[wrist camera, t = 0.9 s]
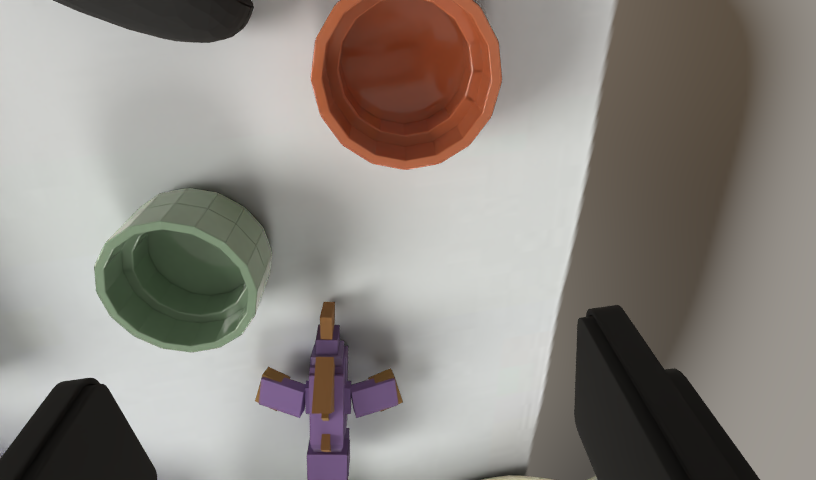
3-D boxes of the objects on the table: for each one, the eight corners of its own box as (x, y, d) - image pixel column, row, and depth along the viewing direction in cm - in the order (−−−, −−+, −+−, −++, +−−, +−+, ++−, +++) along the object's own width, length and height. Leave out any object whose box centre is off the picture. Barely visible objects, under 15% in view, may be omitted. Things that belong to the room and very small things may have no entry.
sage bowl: (110, 198, 24) (64, 238, 21) (248, 172, 24) (224, 208, 21) (167, 311, 28) (136, 362, 24) (290, 289, 27) (276, 338, 24)
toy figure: (390, 425, 35) (406, 500, 31) (265, 443, 33) (263, 526, 29) (399, 287, 28) (421, 358, 24) (242, 302, 26) (236, 381, 22)
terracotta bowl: (304, -11, 20) (288, -4, 17) (472, -45, 20) (491, -46, 17) (344, 149, 24) (337, 183, 20) (490, 122, 23) (508, 151, 20)
